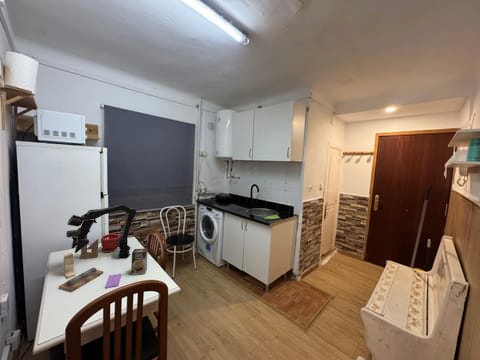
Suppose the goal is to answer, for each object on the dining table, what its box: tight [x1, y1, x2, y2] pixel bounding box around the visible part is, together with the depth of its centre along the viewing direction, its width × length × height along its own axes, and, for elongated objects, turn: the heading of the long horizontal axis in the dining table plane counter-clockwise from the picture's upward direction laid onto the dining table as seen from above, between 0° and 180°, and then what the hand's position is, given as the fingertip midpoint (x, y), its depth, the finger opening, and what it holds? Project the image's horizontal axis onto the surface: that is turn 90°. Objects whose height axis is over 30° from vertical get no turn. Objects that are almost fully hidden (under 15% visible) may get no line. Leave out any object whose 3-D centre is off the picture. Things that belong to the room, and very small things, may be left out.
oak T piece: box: [61, 252, 76, 280], centre depth 126 cm, size 12×4×13 cm, turn 54°
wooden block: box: [79, 238, 99, 260], centre depth 148 cm, size 4×11×18 cm, turn 109°
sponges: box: [104, 273, 122, 289], centre depth 122 cm, size 7×13×2 cm, turn 24°
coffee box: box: [130, 248, 149, 276], centre depth 133 cm, size 9×6×16 cm
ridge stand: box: [58, 267, 104, 293], centre depth 121 cm, size 20×10×4 cm, turn 168°
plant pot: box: [100, 233, 121, 253], centre depth 162 cm, size 13×13×12 cm
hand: (73, 250), depth 128 cm, fingers open, 9 cm apart
